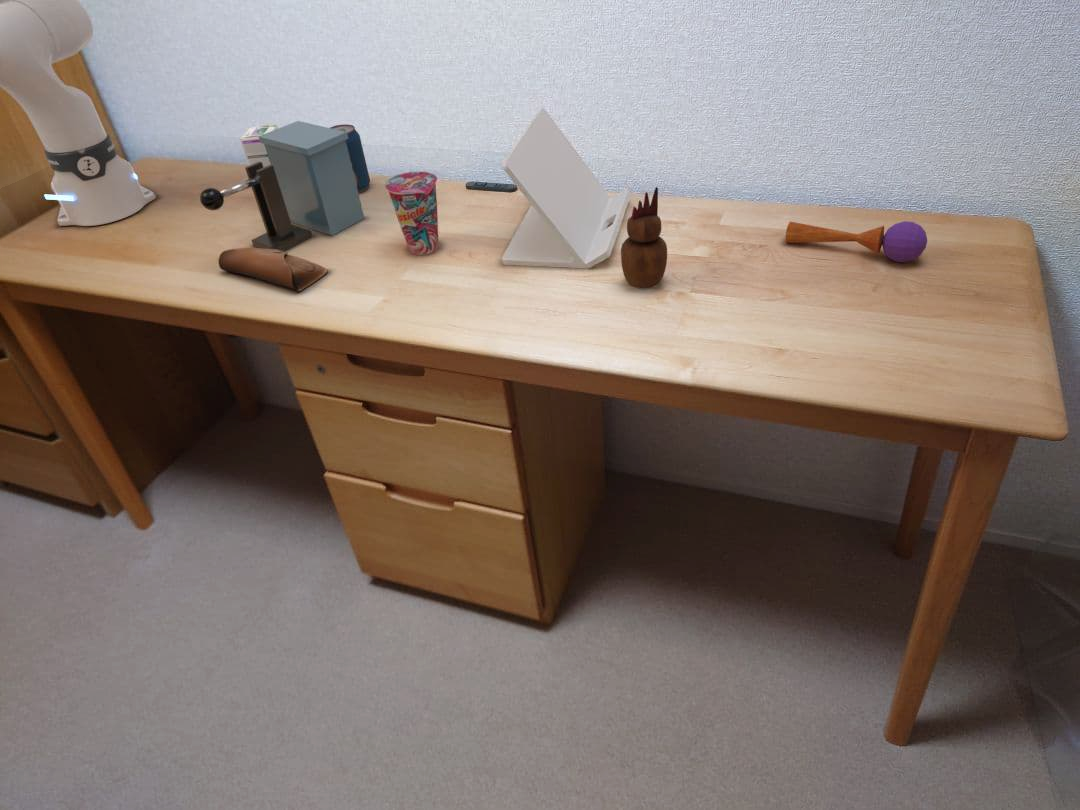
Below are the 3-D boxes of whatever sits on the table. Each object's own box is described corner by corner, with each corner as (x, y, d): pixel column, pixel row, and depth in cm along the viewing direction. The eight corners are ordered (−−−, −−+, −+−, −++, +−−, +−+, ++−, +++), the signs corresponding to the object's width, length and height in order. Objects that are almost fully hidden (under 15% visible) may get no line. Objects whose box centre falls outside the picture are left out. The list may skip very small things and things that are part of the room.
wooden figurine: (665, 273, 118) (668, 180, 108) (666, 292, 113) (669, 197, 104) (621, 274, 119) (620, 182, 109) (621, 293, 114) (619, 199, 105)
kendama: (795, 209, 122) (932, 218, 113) (791, 245, 125) (925, 257, 116) (785, 217, 118) (927, 228, 108) (781, 255, 121) (920, 269, 111)
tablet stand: (501, 264, 124) (488, 163, 114) (536, 199, 143) (528, 107, 132) (610, 269, 120) (608, 164, 110) (632, 201, 139) (632, 106, 128)
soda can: (360, 179, 158) (347, 120, 151) (377, 187, 154) (364, 128, 146) (331, 189, 155) (315, 130, 148) (347, 198, 151) (332, 138, 143)
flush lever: (212, 215, 124) (204, 194, 122) (200, 211, 126) (192, 190, 124) (276, 187, 131) (270, 167, 129) (264, 183, 133) (258, 163, 131)
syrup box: (292, 208, 149) (269, 134, 140) (262, 210, 150) (238, 137, 141) (299, 196, 154) (278, 124, 145) (271, 198, 154) (248, 126, 145)
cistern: (331, 237, 138) (306, 148, 128) (284, 221, 145) (258, 136, 135) (367, 218, 143) (346, 131, 133) (321, 203, 150) (298, 120, 140)
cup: (389, 255, 130) (374, 188, 123) (418, 233, 136) (405, 168, 128) (434, 264, 126) (421, 195, 119) (461, 241, 132) (451, 174, 125)
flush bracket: (276, 255, 134) (251, 178, 125) (253, 246, 138) (227, 171, 129) (312, 236, 139) (290, 161, 130) (289, 228, 142) (266, 154, 133)
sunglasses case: (331, 267, 127) (308, 245, 121) (312, 304, 126) (287, 283, 120) (256, 249, 135) (231, 227, 129) (237, 283, 134) (210, 262, 128)
